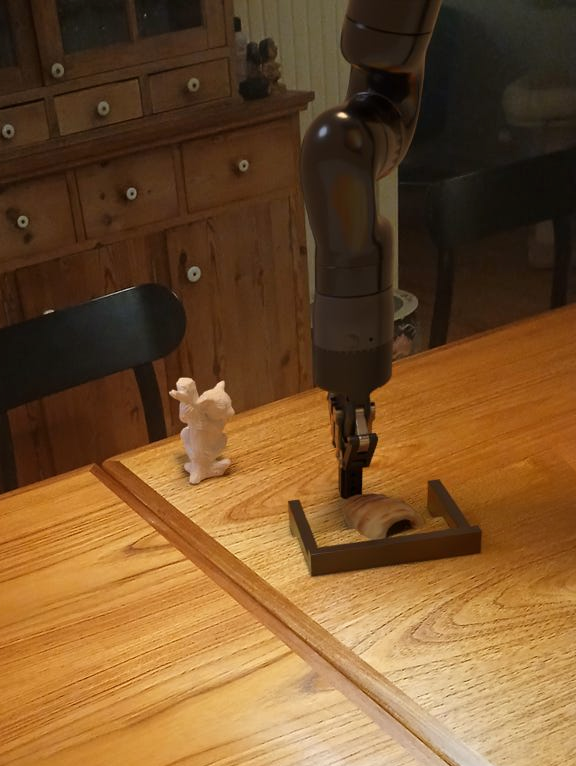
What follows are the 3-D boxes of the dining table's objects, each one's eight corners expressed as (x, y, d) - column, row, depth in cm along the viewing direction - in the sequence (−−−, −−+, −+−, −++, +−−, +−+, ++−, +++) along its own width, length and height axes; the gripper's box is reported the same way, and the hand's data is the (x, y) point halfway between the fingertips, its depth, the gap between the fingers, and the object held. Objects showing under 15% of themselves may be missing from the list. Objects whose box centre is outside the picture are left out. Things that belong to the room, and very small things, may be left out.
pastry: (325, 520, 103) (324, 487, 101) (383, 503, 104) (383, 470, 102) (372, 559, 95) (372, 524, 93) (434, 540, 96) (435, 505, 94)
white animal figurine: (197, 493, 113) (185, 393, 106) (161, 477, 118) (148, 381, 111) (251, 466, 116) (244, 368, 110) (214, 452, 121) (204, 357, 115)
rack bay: (438, 504, 102) (439, 469, 100) (479, 568, 91) (482, 530, 89) (289, 526, 103) (287, 491, 101) (312, 591, 92) (310, 555, 90)
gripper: (410, 352, 88) (401, 521, 98) (376, 307, 99) (371, 463, 109) (325, 363, 89) (325, 530, 99) (301, 317, 99) (303, 471, 109)
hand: (350, 495), depth 104 cm, fingers closed
